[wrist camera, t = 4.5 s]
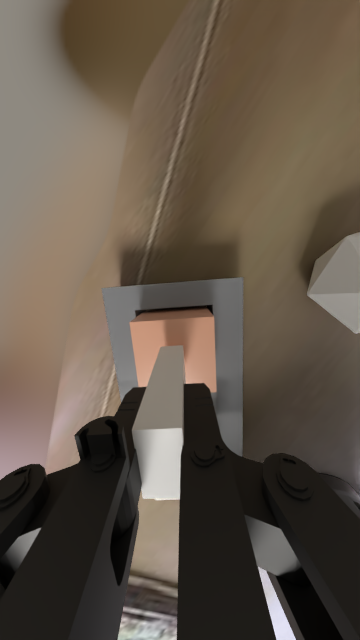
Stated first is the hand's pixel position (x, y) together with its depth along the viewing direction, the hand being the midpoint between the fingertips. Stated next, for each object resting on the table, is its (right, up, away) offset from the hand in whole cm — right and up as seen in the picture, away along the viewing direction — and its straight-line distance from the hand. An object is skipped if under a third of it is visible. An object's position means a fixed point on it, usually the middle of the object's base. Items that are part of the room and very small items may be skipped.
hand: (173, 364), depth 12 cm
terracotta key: (0, +1, +6) cm, 6 cm away
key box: (+1, -4, +10) cm, 10 cm away
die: (+17, +7, +7) cm, 20 cm away
